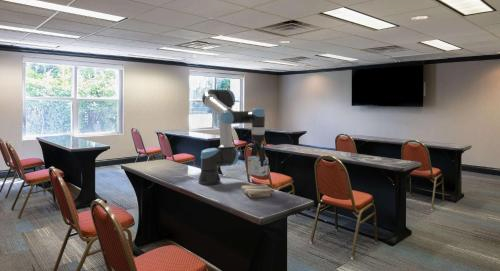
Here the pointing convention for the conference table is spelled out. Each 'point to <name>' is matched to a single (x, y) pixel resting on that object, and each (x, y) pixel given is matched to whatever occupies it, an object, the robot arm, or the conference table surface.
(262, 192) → the wavy wood-grain tile
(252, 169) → the light bulb box
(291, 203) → the conference table surface
